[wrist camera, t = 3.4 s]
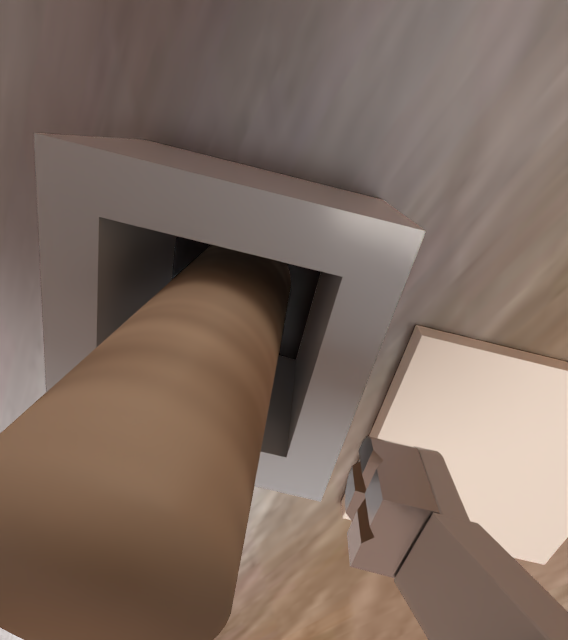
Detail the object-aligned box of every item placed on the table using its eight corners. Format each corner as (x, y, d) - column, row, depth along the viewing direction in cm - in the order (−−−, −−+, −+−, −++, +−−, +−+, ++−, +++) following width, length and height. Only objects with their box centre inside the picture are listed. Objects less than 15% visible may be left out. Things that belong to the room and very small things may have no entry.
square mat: (415, 324, 16) (421, 335, 15) (662, 385, 16) (683, 399, 15) (341, 501, 20) (342, 518, 20) (534, 546, 21) (544, 564, 20)
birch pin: (203, 223, 15) (-109, 424, 4) (301, 248, 15) (261, 509, 4) (191, 313, 17) (-52, 629, 6) (279, 334, 17) (209, 686, 6)
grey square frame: (145, 139, 14) (33, 132, 8) (383, 199, 14) (425, 230, 9) (131, 348, 18) (48, 438, 12) (319, 393, 18) (320, 501, 12)
